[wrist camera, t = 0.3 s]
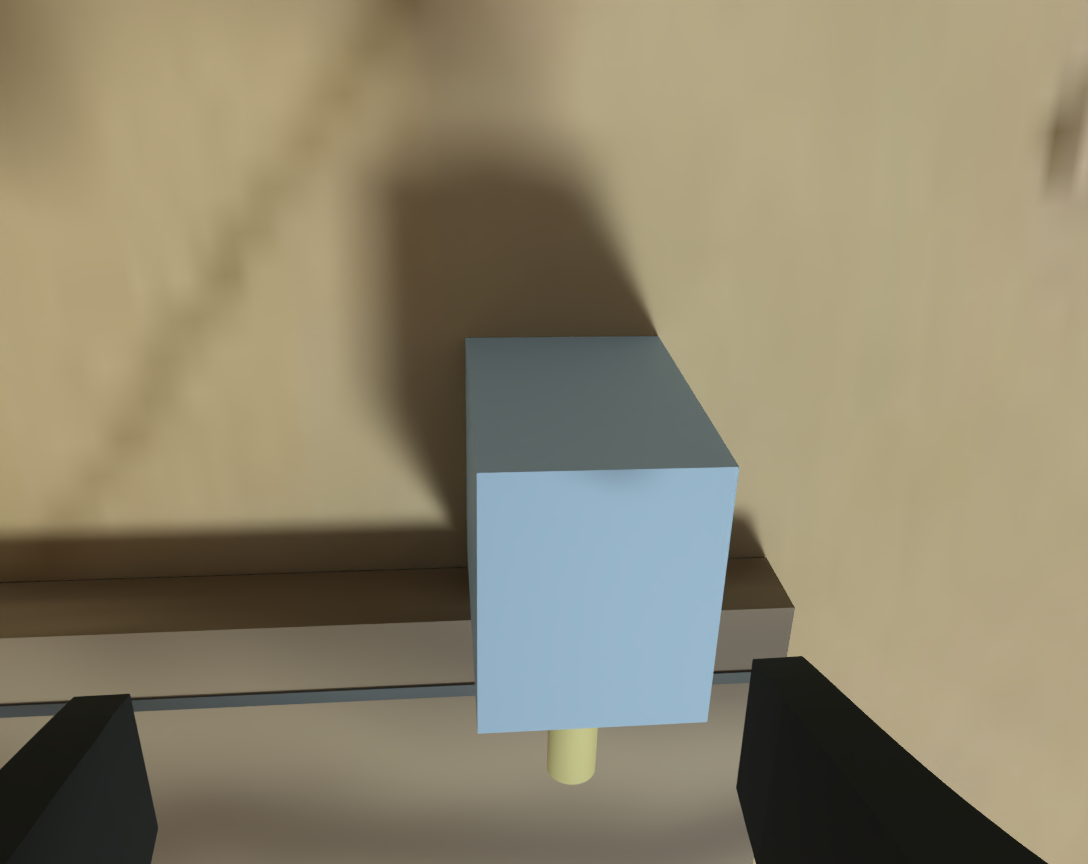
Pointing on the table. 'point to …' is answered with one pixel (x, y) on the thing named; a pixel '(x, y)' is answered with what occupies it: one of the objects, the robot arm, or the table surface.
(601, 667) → the light blue block
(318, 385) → the table surface
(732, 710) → the board
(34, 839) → the robot arm
